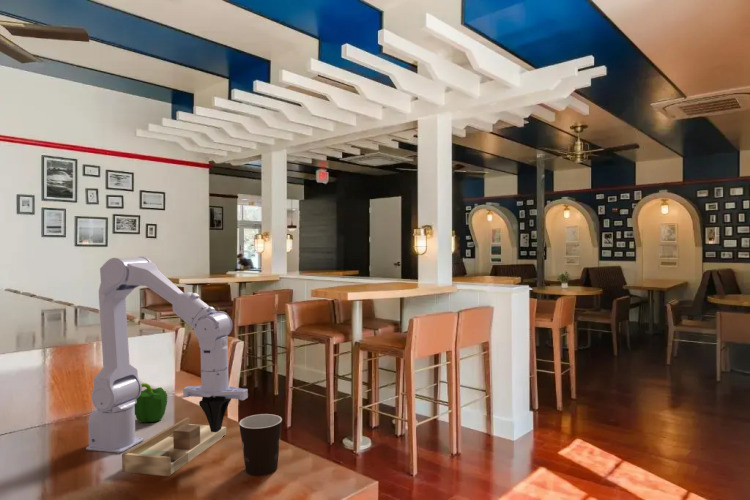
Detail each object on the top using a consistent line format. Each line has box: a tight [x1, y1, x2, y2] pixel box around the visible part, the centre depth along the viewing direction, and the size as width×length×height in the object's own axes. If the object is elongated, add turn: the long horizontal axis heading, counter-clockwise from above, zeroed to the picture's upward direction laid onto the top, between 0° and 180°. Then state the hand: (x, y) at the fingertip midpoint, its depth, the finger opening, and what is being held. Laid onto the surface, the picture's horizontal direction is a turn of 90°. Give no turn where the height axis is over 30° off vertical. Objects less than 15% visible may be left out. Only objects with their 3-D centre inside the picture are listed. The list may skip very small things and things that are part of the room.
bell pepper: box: [135, 382, 168, 423], centre depth 138 cm, size 8×8×10 cm
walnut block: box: [173, 424, 201, 450], centre depth 115 cm, size 4×4×4 cm
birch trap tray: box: [121, 417, 227, 477], centre depth 117 cm, size 11×23×4 cm, turn 167°
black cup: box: [238, 413, 283, 477], centre depth 109 cm, size 12×9×10 cm
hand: (216, 430), depth 114 cm, fingers closed
